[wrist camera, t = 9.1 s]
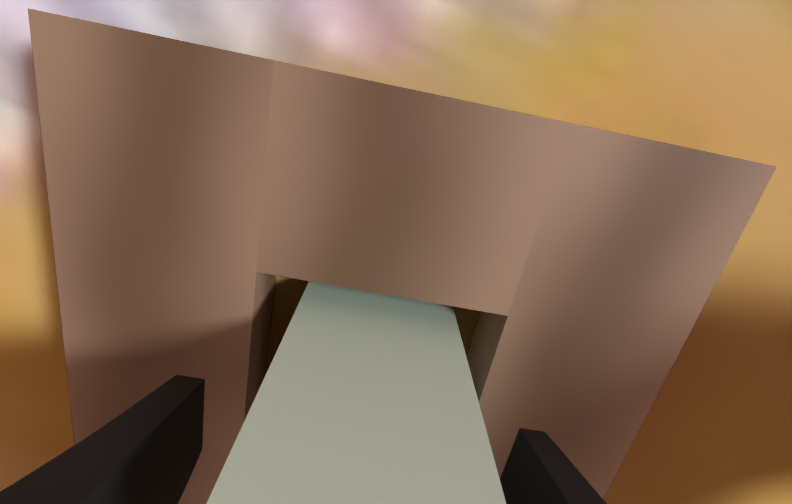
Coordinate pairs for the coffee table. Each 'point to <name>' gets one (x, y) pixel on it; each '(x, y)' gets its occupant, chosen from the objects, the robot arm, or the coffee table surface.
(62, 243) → the walnut socket frame
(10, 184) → the coffee table surface
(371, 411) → the sage peg
